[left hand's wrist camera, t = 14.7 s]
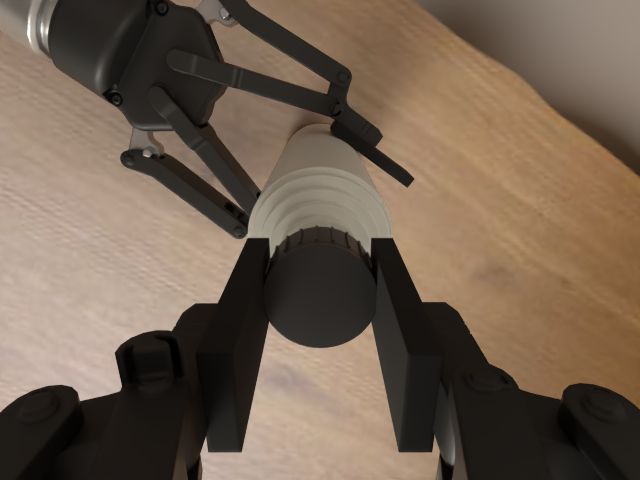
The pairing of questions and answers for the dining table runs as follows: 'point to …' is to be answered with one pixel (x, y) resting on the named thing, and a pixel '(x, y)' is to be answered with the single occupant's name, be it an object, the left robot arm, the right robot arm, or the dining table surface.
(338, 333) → the cap
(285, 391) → the dining table surface
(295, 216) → the bottle
